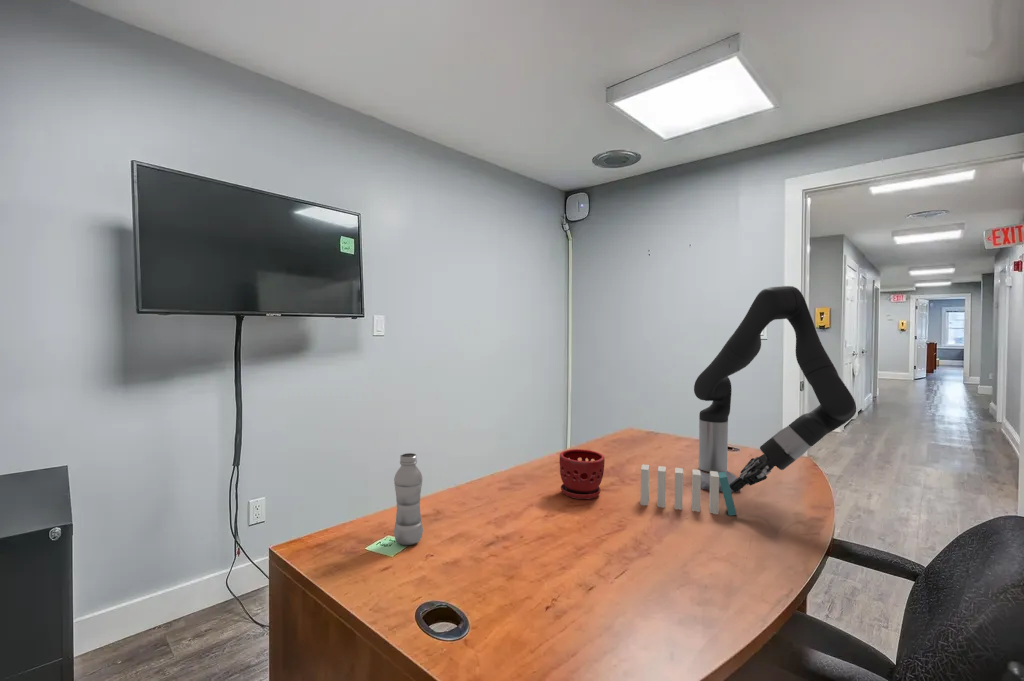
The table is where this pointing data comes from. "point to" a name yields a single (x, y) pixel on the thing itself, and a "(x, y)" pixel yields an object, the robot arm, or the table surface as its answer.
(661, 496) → the domino
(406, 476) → the plastic bottle
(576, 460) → the plant pot
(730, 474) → the stone block
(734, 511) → the domino
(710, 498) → the domino
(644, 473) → the domino
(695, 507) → the domino
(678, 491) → the domino
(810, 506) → the table surface
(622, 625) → the table surface
